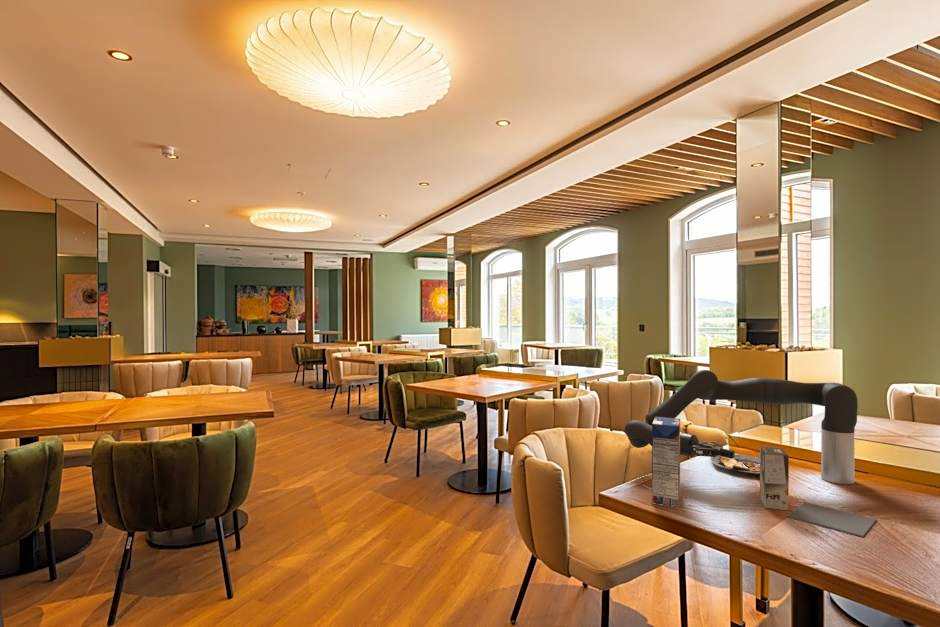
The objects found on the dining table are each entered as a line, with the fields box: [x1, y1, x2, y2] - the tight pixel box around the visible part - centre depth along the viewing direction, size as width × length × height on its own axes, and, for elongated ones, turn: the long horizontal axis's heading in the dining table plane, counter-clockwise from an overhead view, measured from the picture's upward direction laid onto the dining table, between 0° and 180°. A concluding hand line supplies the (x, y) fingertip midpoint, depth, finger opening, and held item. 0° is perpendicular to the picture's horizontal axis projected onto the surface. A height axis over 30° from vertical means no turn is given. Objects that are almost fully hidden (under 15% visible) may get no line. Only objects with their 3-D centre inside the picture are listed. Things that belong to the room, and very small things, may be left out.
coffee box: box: [759, 446, 790, 511], centre depth 151 cm, size 9×6×16 cm
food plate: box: [709, 454, 760, 475], centre depth 186 cm, size 25×23×4 cm
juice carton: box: [651, 417, 681, 508], centre depth 154 cm, size 12×8×24 cm, turn 156°
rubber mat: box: [786, 501, 877, 538], centre depth 140 cm, size 16×17×1 cm
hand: (733, 454), depth 159 cm, fingers closed
